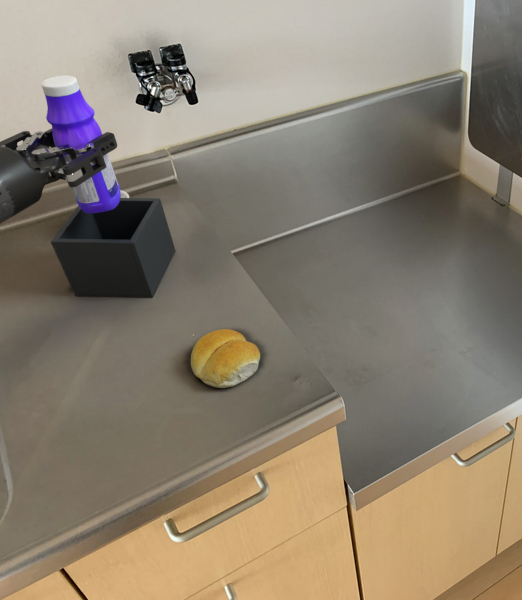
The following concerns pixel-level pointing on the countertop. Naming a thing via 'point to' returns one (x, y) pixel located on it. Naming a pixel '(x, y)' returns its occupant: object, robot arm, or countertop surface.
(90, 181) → the bottle
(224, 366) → the bread roll
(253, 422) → the countertop surface
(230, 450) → the countertop surface
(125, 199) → the trash bin
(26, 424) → the countertop surface
